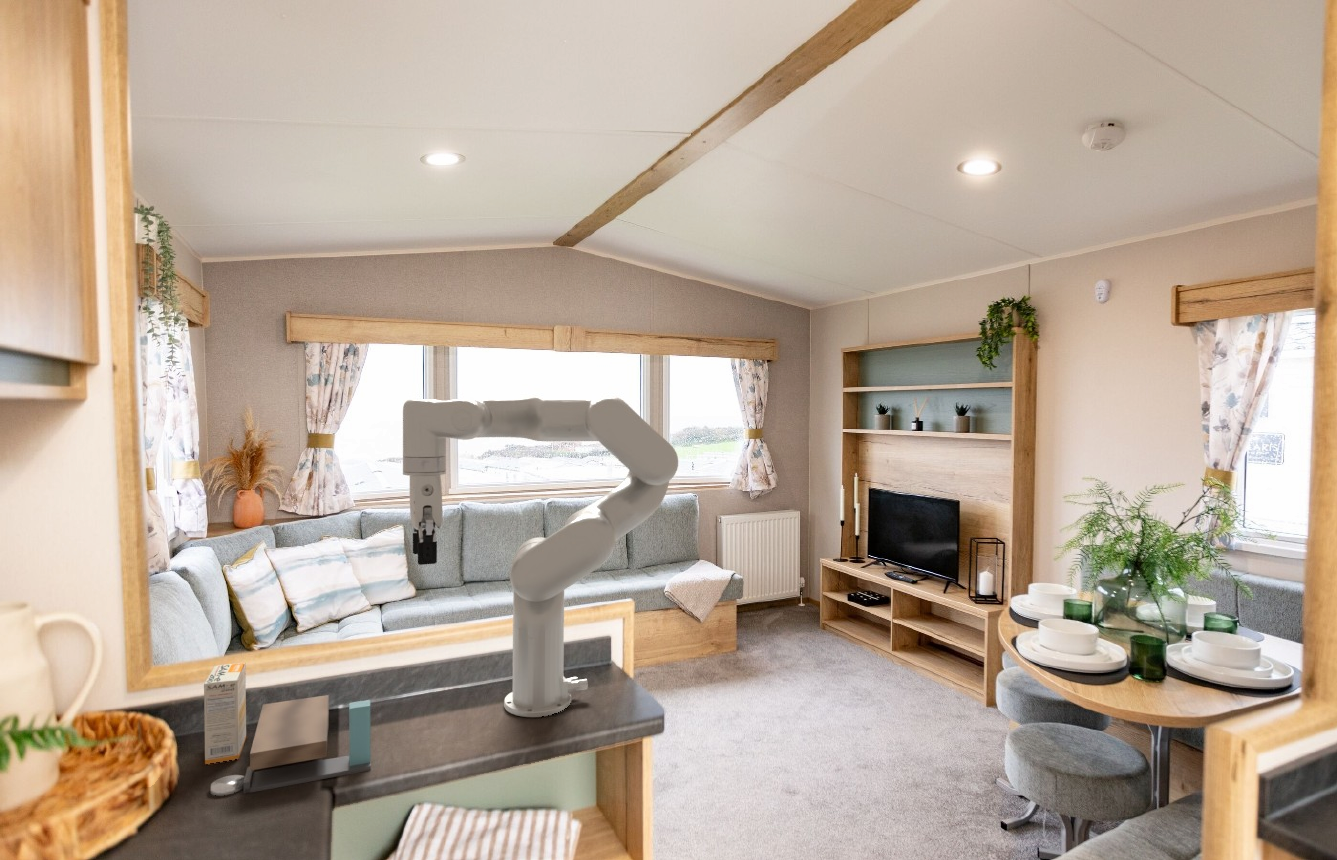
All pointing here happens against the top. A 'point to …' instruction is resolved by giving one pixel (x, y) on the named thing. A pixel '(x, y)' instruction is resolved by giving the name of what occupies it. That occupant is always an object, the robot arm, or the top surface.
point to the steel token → (227, 785)
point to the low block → (291, 732)
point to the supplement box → (225, 712)
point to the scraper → (323, 768)
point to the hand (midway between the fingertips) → (424, 558)
